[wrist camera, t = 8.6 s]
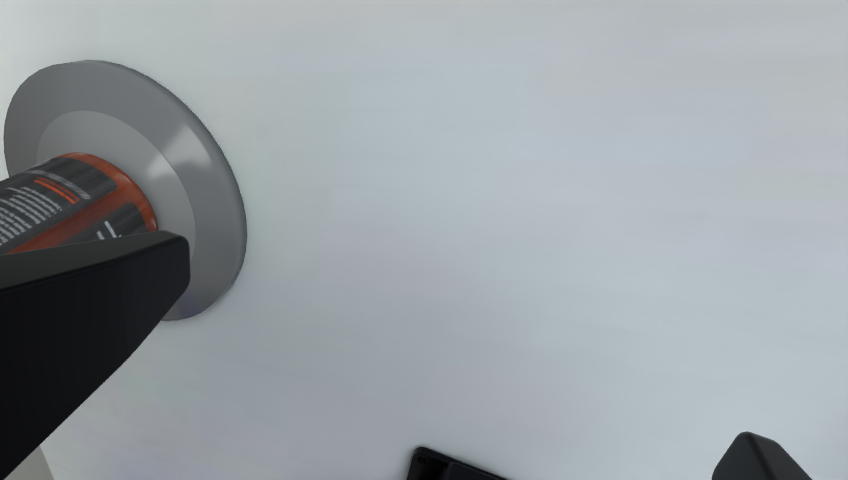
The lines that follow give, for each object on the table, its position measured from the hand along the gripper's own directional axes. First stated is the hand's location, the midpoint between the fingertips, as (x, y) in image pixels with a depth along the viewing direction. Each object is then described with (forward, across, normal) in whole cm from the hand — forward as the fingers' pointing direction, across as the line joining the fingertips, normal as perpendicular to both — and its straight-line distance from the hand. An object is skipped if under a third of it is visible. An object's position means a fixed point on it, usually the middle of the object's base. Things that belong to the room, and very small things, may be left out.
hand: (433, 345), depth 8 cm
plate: (+12, +18, +8) cm, 23 cm away
